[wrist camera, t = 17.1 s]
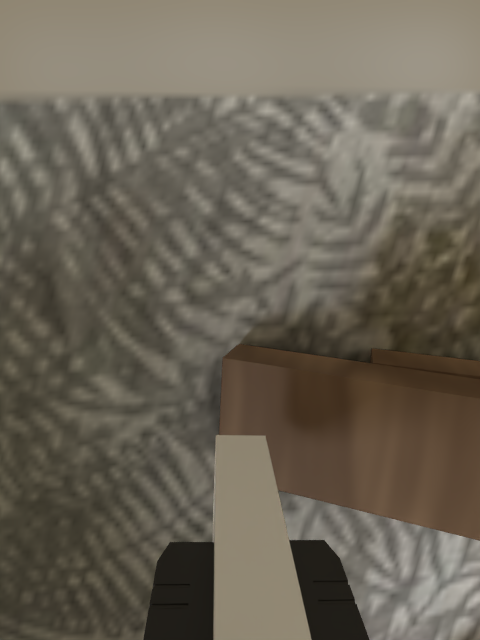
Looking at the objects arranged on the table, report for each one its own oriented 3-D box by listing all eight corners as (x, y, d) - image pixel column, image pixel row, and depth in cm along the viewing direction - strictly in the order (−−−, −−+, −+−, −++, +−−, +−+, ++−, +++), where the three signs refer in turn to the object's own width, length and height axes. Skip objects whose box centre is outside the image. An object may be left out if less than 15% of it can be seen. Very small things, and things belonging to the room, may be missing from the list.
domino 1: (217, 474, 16) (497, 544, 13) (222, 357, 15) (530, 406, 12) (233, 448, 18) (480, 504, 15) (239, 343, 17) (508, 382, 14)
